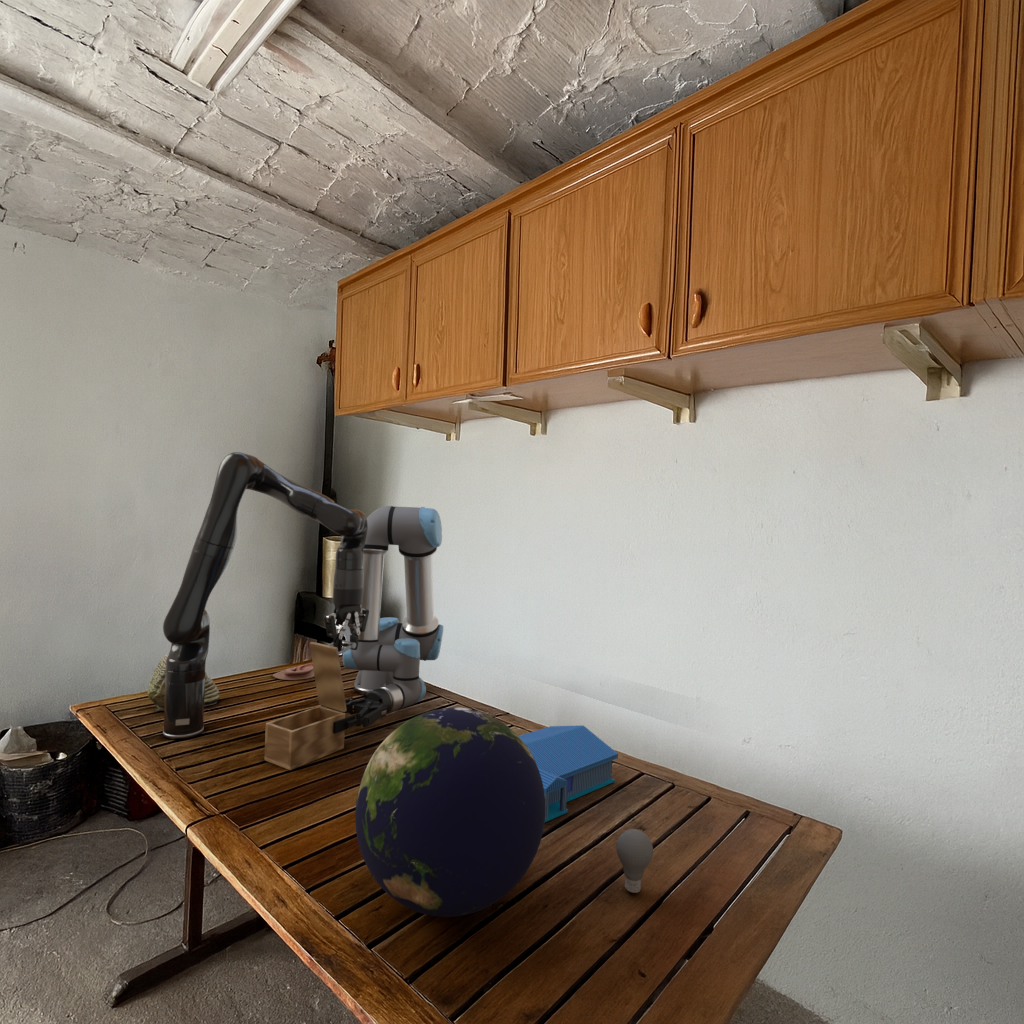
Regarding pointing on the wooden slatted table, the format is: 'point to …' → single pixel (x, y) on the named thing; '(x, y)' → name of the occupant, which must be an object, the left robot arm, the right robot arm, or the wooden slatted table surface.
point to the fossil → (158, 687)
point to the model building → (569, 764)
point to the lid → (329, 674)
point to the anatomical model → (296, 672)
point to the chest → (303, 737)
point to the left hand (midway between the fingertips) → (345, 650)
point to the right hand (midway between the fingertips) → (320, 723)
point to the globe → (450, 812)
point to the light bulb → (634, 857)
